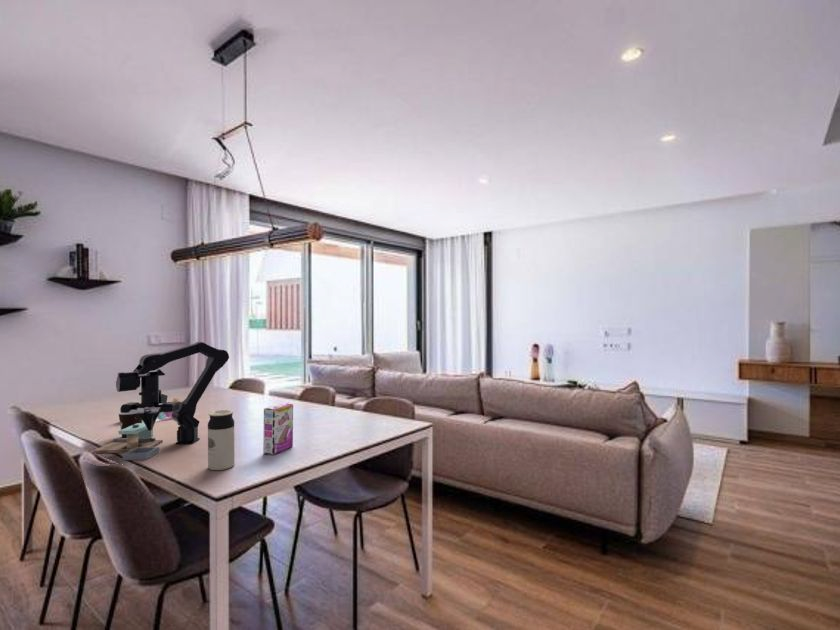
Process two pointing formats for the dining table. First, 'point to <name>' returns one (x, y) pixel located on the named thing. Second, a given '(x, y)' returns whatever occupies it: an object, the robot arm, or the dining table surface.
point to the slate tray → (140, 453)
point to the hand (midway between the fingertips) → (150, 430)
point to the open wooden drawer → (121, 445)
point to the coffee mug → (129, 420)
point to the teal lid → (138, 430)
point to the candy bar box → (278, 428)
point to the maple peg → (132, 441)
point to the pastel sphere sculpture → (165, 414)
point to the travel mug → (221, 440)
